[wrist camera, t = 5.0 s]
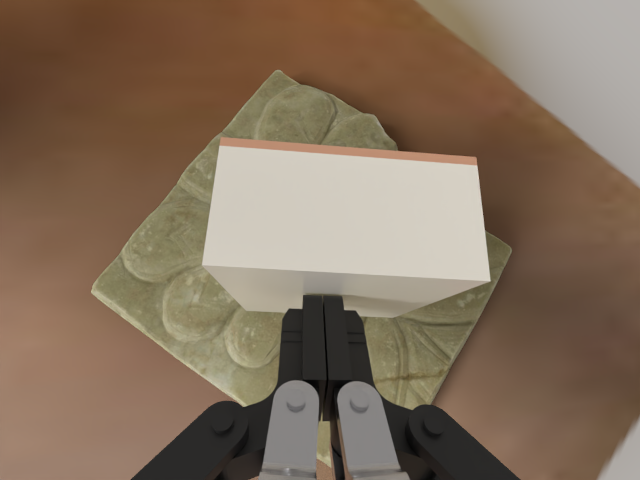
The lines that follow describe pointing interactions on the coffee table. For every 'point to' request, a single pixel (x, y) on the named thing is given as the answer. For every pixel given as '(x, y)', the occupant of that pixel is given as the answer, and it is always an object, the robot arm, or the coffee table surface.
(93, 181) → the coffee table surface
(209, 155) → the decorative tile
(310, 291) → the white rectangular block
